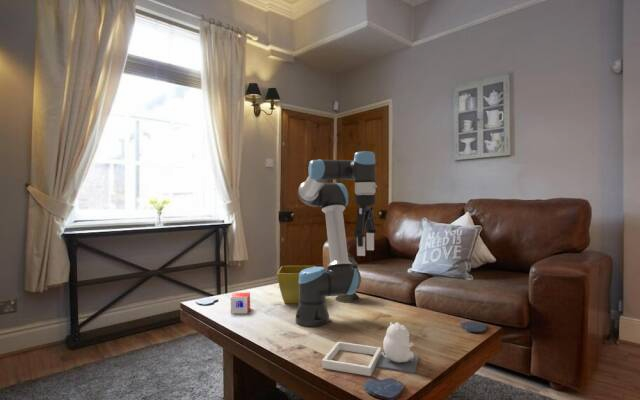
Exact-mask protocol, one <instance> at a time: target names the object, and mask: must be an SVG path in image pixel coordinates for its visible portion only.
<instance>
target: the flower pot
mask: <svg viewBox="0 0 640 400" xmlns="http://www.w3.org/2000/svg"><path fill="white" fill-rule="evenodd" d="M311 267H316V266H315V265H281V266H280V268H279V270H278V271H277V272H276V273H277V274H276V275H277V281H278V282H277V283H278V288H279V289H280V290H279V291H280V293H281V297H282V300H283V302H284V304H299V282H298V281H299V273H300V272H301V271H302V270H304V269H307V268H311Z"/></svg>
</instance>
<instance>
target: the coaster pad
mask: <svg viewBox="0 0 640 400" xmlns="http://www.w3.org/2000/svg"><path fill="white" fill-rule="evenodd" d="M383 352H384V351H383ZM383 352H382V353H383ZM383 354H384V355H386V354H385V352H384V353H383ZM419 359H420V356H419V355H416V354H414V358H413V360H412V361H410V360H408V361H407V362H400V363H398V362H394V361H392V360H390V359H389V358H385V357H384V356H383V355H382V354H381V356H380V358H379V360H378V362H377V364H376V366H375V368H377V369H382V370H390V371H393V372H400V373H406V374H413V375H415V374H416V370H417V368H418V362H419Z"/></svg>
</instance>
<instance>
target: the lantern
mask: <svg viewBox="0 0 640 400" xmlns="http://www.w3.org/2000/svg"><path fill="white" fill-rule="evenodd" d="M348 260H349V262H351V263H352V266H353V268H355V269H357V272H358V286H357V290H358V289H359V288H360V286H361V284H362V276H361V272H360V270H359V268H358V266H359V263H358V262H357V261H356V260H355V257H354V256H353V255H351V254H350V252H348ZM334 300H335V301H336V302H338V303H344V304H351V303H357V302H358V303H359V301H361V297H360V296H359V295H358V294H357V293H356V292H355V293H354V294H350V295H339V296H335V299H334Z"/></svg>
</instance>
